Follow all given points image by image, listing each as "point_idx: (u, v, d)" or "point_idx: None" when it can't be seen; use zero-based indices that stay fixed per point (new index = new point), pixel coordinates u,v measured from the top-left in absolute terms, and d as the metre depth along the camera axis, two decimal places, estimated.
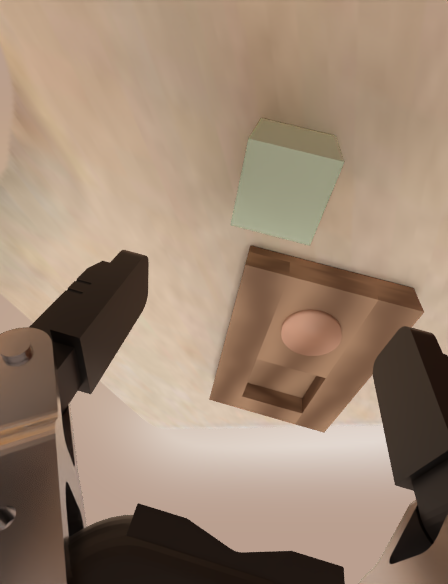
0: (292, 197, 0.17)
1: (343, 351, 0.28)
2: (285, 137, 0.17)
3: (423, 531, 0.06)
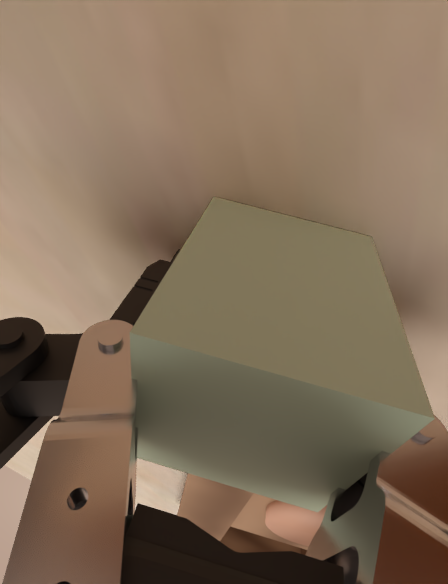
0: (272, 448, 0.06)
1: None
2: (255, 284, 0.07)
3: None
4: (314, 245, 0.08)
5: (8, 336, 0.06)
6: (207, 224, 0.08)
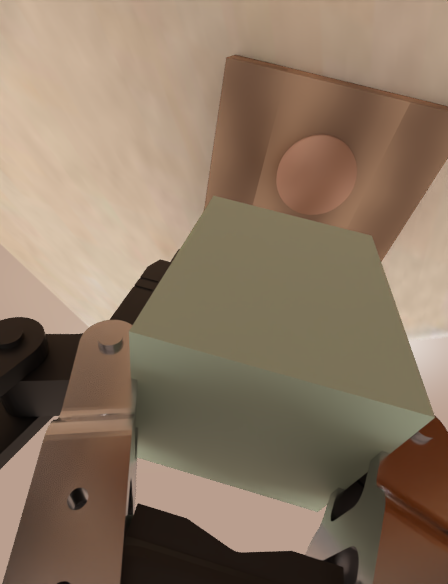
0: (272, 448, 0.06)
1: (357, 207, 0.21)
2: (254, 283, 0.07)
3: None
4: (314, 244, 0.08)
5: (7, 336, 0.06)
6: (207, 223, 0.08)
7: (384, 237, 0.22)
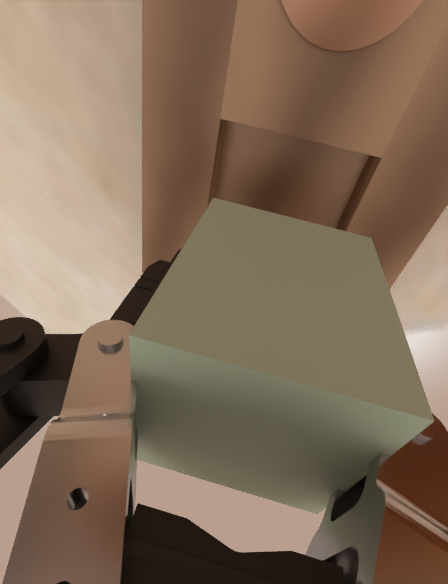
0: (272, 450, 0.06)
1: (444, 29, 0.10)
2: (254, 286, 0.07)
3: None
4: (314, 246, 0.08)
5: (8, 336, 0.06)
6: (207, 225, 0.08)
7: None
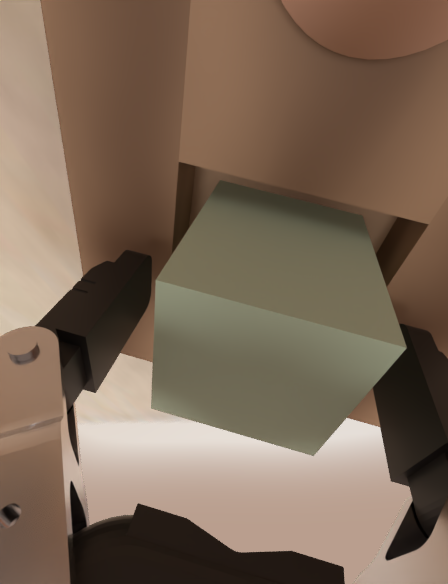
0: (274, 389, 0.07)
1: None
2: (258, 249, 0.08)
3: (418, 527, 0.07)
4: (310, 221, 0.09)
5: None
6: (215, 202, 0.09)
7: None
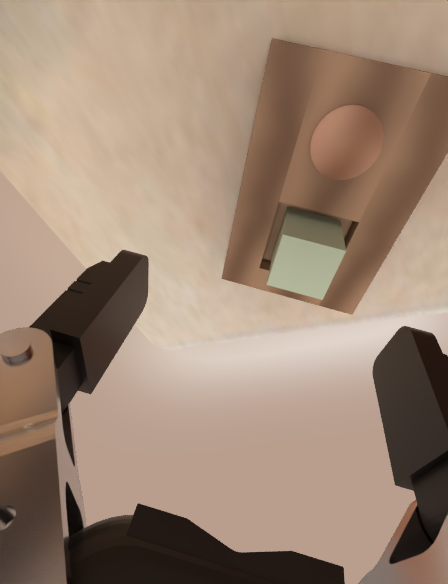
0: (310, 269, 0.25)
1: (382, 173, 0.24)
2: (306, 229, 0.26)
3: (423, 531, 0.06)
4: (321, 221, 0.27)
5: None
6: (288, 214, 0.27)
7: (407, 201, 0.24)
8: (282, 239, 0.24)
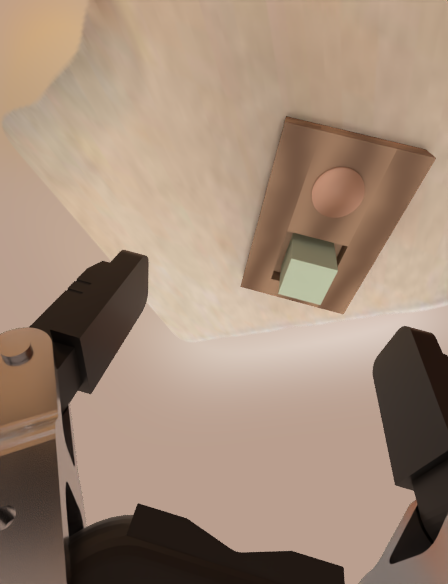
0: (311, 283, 0.34)
1: (365, 212, 0.32)
2: (308, 252, 0.34)
3: (423, 531, 0.06)
4: (319, 245, 0.36)
5: None
6: (294, 240, 0.36)
7: (383, 232, 0.33)
8: (291, 261, 0.33)
